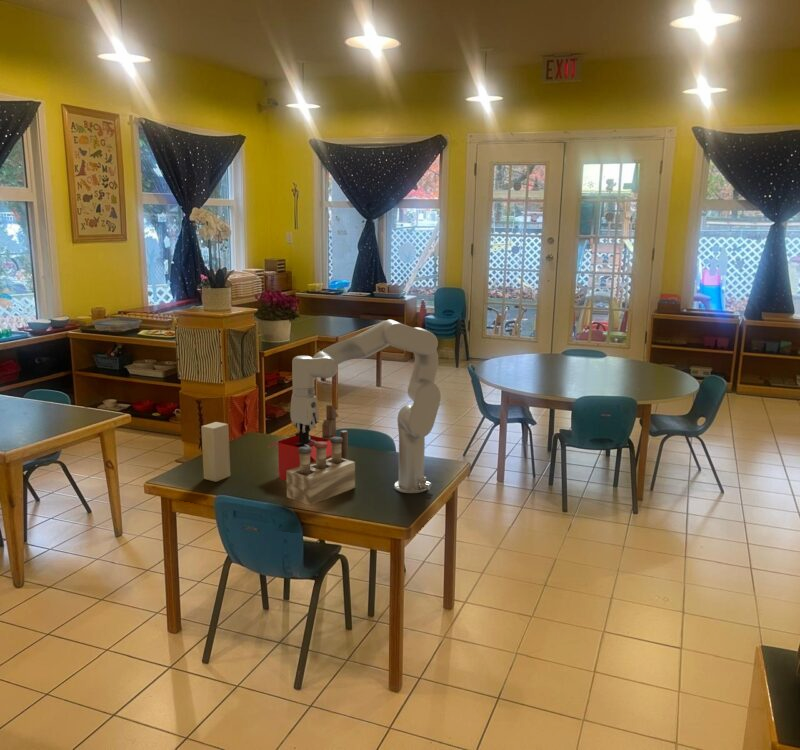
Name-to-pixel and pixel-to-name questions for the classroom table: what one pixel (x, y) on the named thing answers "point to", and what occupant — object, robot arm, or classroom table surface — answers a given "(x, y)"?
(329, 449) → the jack-in-the-box
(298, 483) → the wooden cylinder block
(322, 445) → the plug mid
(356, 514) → the classroom table surface
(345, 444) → the wooden toy
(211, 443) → the toy refrigerator
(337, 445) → the plug
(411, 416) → the robot arm
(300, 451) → the plug
